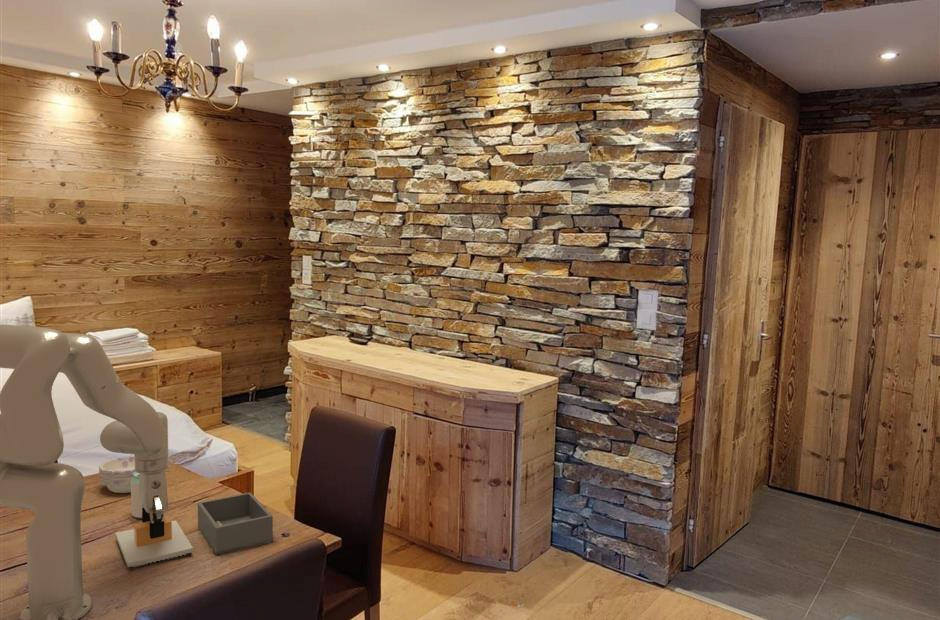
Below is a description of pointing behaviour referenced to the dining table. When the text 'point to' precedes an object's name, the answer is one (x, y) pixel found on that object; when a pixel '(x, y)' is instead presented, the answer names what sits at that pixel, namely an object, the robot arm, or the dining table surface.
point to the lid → (152, 543)
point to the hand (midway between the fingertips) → (153, 529)
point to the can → (136, 496)
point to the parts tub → (234, 523)
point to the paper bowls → (117, 474)
